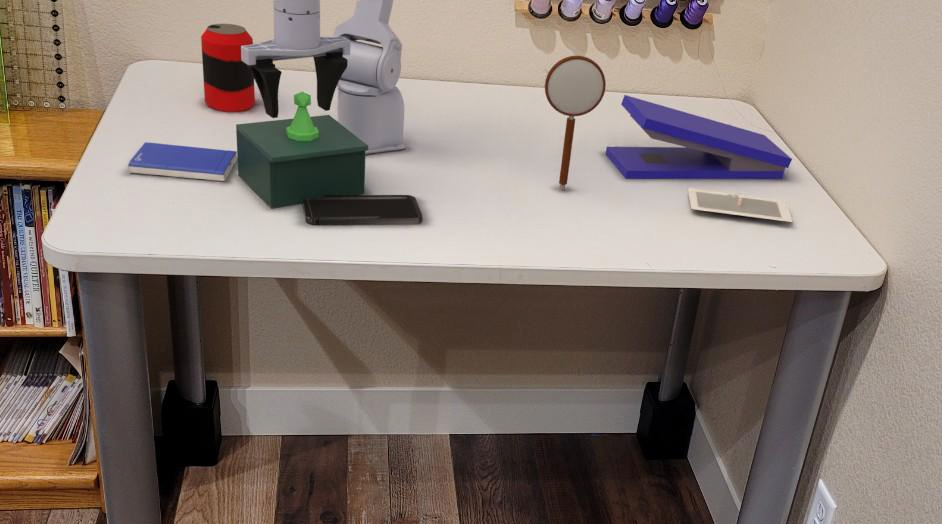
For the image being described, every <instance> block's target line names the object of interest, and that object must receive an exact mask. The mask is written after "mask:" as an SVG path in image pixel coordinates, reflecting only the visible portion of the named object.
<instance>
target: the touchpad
mask: <svg viewBox="0 0 942 524" xmlns="http://www.w3.org/2000/svg"><path fill="white" fill-rule="evenodd" d="M687 191H688V198H689V204H690V210H696V211H704V212H711V213H719V214H726V215H735V216H740V217H741V216H743V217H748V218H749V217H750V218H757V219H765V220H773V221H774V220H775V221H780V222H789V223H793V219H792V216H791V213H790V210H789V207H788V204H787V202H786V200H784V199H783V200H781V199H775V198H766V197H759V196H753V195H743V194H737V193H729V192H721V191H714V190H707V189H706V190H705V189H699V188H691V187H687Z"/></svg>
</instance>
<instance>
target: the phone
mask: <svg viewBox="0 0 942 524" xmlns="http://www.w3.org/2000/svg"><path fill="white" fill-rule="evenodd" d="M418 203H419V202H418V201H417V198H416V197H415V196H414V195H410V194H362V195H324V197H319V198H313V199H306V200H305V199H303V204H302V207H303V214H304V219H305V223H306V224H307V225H309V226H401V225H403V226H404V225H405V226H407V225H411V226H413V225H416V226H417V225H421V224H422V222H423V213H422V211H421V208H420V205H419V204H418Z"/></svg>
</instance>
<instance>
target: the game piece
mask: <svg viewBox="0 0 942 524" xmlns="http://www.w3.org/2000/svg"><path fill="white" fill-rule="evenodd" d="M293 102H294V105H295V106H298V107H297V109H296V111H295V114H294V116H293V118H294V119H293V118H292V119H293V121H292V123H291V126H289V127H287V128H286V133H287V136H288V138H291V139H294V140H297V141H311V140H314V139H316V138H318V137H319V132H318V129H317V127H314V126H313V123H312V121H311V118H310V117H311V115H310V113H309V110H308V106H312V97H311V94H308V93H306V92H304V91H300V92H297V93H296V94H293Z"/></svg>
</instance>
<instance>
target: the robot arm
mask: <svg viewBox="0 0 942 524" xmlns="http://www.w3.org/2000/svg"><path fill="white" fill-rule="evenodd" d="M272 2H273V39H268V40H264V41H260V42H257V43H253V44H252V45H245V46H241V59H242V61H243V62H244V63H246V65H247V67H248V68H249V70H250V72H251V74H252V75H253V77H254V82H255V83H256V86H257V89H258V90H259V94H260V96H261V100H262V103H263V107H264V111H265V114H266V115H267V116H268V117H270V118H272V119H277V118H278V117H279V87H280V81H281V76H282V71H281V70H280V69H278V68H277V67H276V63H274V62H277V61H286V60H287V61H288V60H297V59H307V58H313V63H314V68H315V69H314V70H315V76H316V102H317V106H318V108H320V109H322V110H323V111H325V112H326V111H330V110H331V107H332V102H333V98H334V95H335V93H336V92H335V91H336V90H337V118H336V121H337V122H339V123H340V124H341V125H343V126H344V127H345V128H346V129H348V130H349V131H350V132H351V133H353V134H354V135H355V136H357V137H358V138H359V139H360V140H362V141H363V142H364V143H365V144H367V145H368V150H367V151H365V155H369V154H377V153H382V152H383V153H384V152H391V151H399V150H404V149H406V145H405V144H404V130H405V129H404V127H405V102H404V97H403V95H402V94H403V93H402V92H401V91H400V89H399V88H398V87H397V86H396V85H397V83H398V82H399V79H400V76H401V72H402V71H401V70H402V51H403V43H402V42H401V40H400V38H399V37H398V35H397V34H396V33H395V32H394V30H393V29H392V27H390V25H389V22H390V18H391V12H392V10H393V9H392V8H393V4H394V0H356V2H355V6H354V12H353V15H352V16H351V17H349V18H347V19H346V20H344V21H342V22H340V23H339V24H337V25H336V26H335V27H334V31H333V35H332V36H321V0H273V1H272ZM363 41H364V42H363ZM367 42H368V43H367ZM372 43H373V44H372ZM376 44H378V45H376ZM380 45H381V46H380Z"/></svg>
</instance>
